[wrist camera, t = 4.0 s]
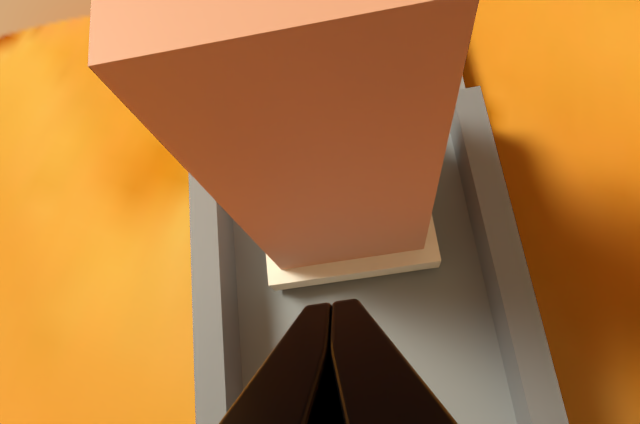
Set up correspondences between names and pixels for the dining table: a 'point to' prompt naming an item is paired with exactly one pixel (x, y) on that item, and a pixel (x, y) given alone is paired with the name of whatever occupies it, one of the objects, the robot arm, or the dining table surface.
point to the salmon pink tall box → (300, 118)
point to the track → (395, 297)
